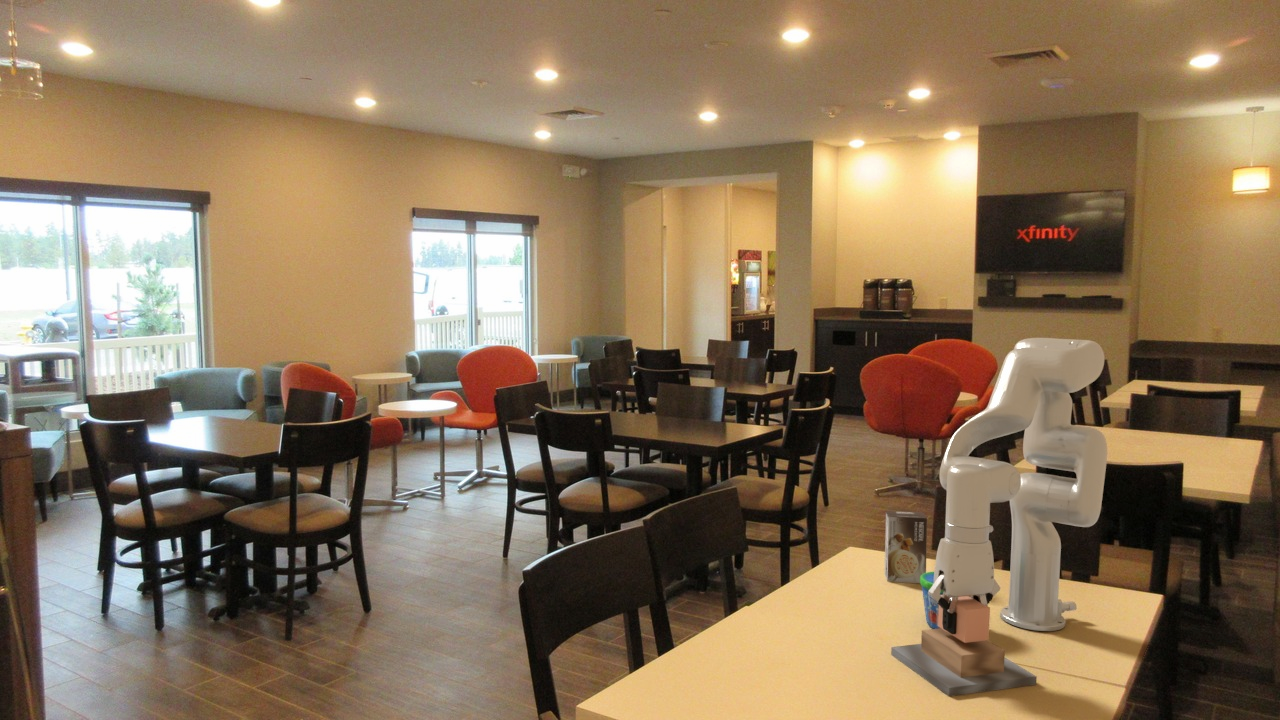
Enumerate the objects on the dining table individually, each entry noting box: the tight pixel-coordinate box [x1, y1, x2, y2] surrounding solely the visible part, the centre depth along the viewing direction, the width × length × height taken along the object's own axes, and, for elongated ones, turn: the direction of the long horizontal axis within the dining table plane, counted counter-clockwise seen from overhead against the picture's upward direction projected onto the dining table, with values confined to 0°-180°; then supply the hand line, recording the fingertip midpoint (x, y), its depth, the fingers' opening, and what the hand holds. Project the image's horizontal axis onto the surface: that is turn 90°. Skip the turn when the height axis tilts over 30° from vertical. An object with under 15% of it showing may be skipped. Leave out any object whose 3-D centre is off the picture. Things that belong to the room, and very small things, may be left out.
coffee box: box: [884, 510, 928, 584], centre depth 214 cm, size 9×6×16 cm
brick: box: [938, 595, 991, 643], centre depth 162 cm, size 5×8×6 cm, turn 16°
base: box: [890, 628, 1037, 697], centre depth 163 cm, size 18×18×6 cm
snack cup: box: [919, 571, 972, 629], centre depth 184 cm, size 16×10×10 cm
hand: (962, 629), depth 163 cm, fingers closed on brick, 5 cm apart
